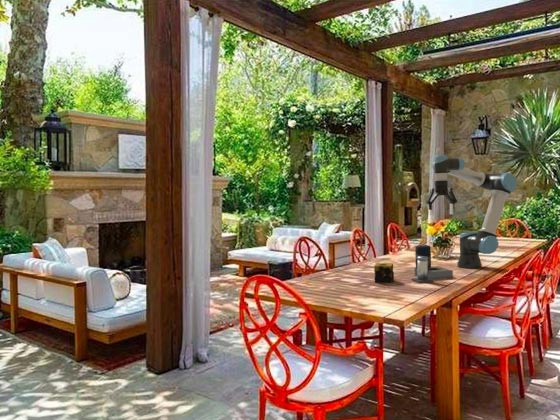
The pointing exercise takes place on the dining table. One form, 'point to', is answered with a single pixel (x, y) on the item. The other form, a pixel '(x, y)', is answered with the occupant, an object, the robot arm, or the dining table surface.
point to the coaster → (422, 280)
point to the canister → (423, 252)
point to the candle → (384, 272)
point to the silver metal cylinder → (422, 268)
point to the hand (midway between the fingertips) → (441, 214)
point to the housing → (438, 273)
